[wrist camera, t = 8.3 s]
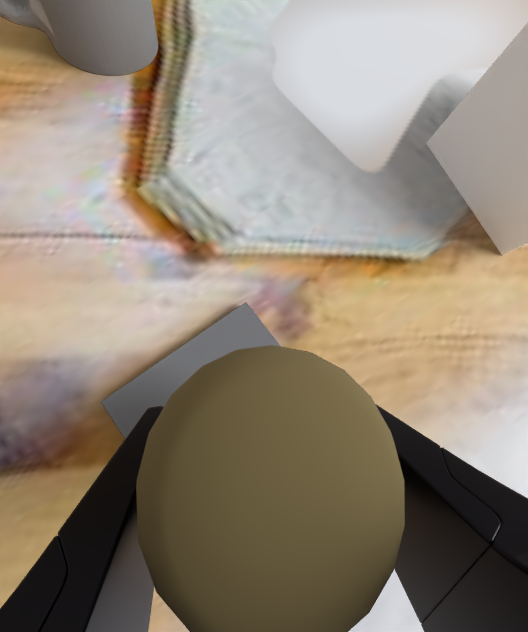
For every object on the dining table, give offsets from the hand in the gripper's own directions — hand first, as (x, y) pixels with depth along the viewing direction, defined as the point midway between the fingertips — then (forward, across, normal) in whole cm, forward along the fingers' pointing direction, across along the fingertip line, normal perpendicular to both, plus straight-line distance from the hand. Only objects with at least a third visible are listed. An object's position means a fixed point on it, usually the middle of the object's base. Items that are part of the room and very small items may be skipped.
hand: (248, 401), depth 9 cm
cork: (+4, 0, +6) cm, 7 cm away
